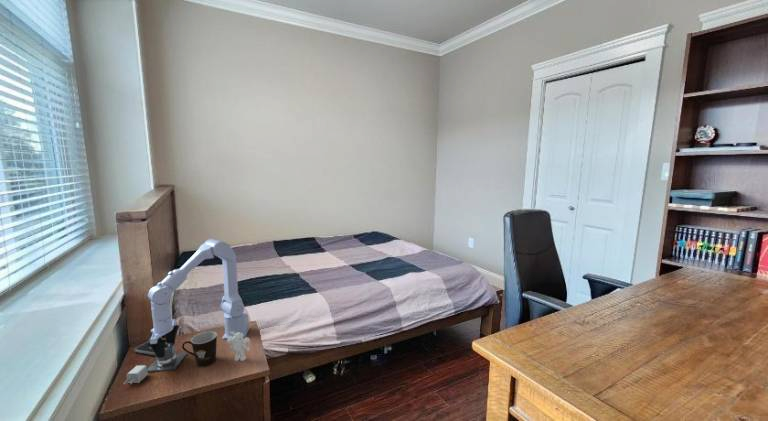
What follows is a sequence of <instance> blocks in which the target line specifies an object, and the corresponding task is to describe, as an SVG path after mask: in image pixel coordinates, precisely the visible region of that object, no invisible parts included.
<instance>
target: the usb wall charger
mask: <svg viewBox="0 0 768 421" xmlns="http://www.w3.org/2000/svg"><path fill="white" fill-rule="evenodd" d="M147 369H148V366H147V365H145V364H143V365H136V366H135V367H133V368H132V369H131V370H130V371H128V372H127V373H126V380H125V381H124V382H123V384H124V385H126V384H128V383H130V384H129V385H133V384H132V383H138V384H140V383H141V382H142V381H143V380H145V378H146V377H147V376H148V375H149V372H148V371H147Z"/></svg>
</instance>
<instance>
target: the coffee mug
mask: <svg viewBox="0 0 768 421" xmlns="http://www.w3.org/2000/svg"><path fill="white" fill-rule="evenodd" d="M217 338H218V333H217V332H215V331H203V332H200V333H198V334H196V335H194V336H193V337H192V338H191V339H190V340H189V341H188V340H187V341H185V342H183V343H182V344H181V345H182V346H181V348H182V349H183V351H184V352H185V353H187V354H190V355H192V356H194V358H195V363H196V366H198V368H206V367H208V366H209V367H210V366H211V365H213V364H214V363H215V362H216V360H217V341H218V340H217ZM186 344H190V345H191V348H192V350H193V351H192V352H191V351H190V350H187V349H186V348H185V345H186Z"/></svg>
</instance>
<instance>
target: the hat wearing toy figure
mask: <svg viewBox="0 0 768 421" xmlns="http://www.w3.org/2000/svg"><path fill="white" fill-rule="evenodd" d="M230 333H231V334H233V335H234V336H233V337H232V336H230V337H228V339H226V341H227V344H228V345H230V350H231V351H232V350H234V352H235V355H234V356H235V357H234V361H235V362H237V361H241V362H244V361H245V360H246V359H247V356H245V355H246V353H245V351H247V353H248V352H250V350H251V348H250V347H249V346H248V345H250V343H251V340H250V338H249V337H248V336H247V335H246V336H245V337H243V334H241V333H240V332H238V333H236V334H235V332H231V331H230ZM247 344H248V345H247ZM244 349H245V350H244Z"/></svg>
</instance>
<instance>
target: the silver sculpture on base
mask: <svg viewBox="0 0 768 421" xmlns="http://www.w3.org/2000/svg"><path fill="white" fill-rule="evenodd" d="M165 349H167V348H165ZM187 355H188V353H187V352H178V353H177V352H175V355H174V357H173V358H171V359H169V360H166V361H158V360H157V359H155V360H154V361H153V362H152V363H151V364H150V365H149V366H147V371H148V373H155V372H166V371H175V370H177V368H178V367H179V365H180V364H181V363H182V361H183V360H184V359H185V357H186V356H187Z"/></svg>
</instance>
